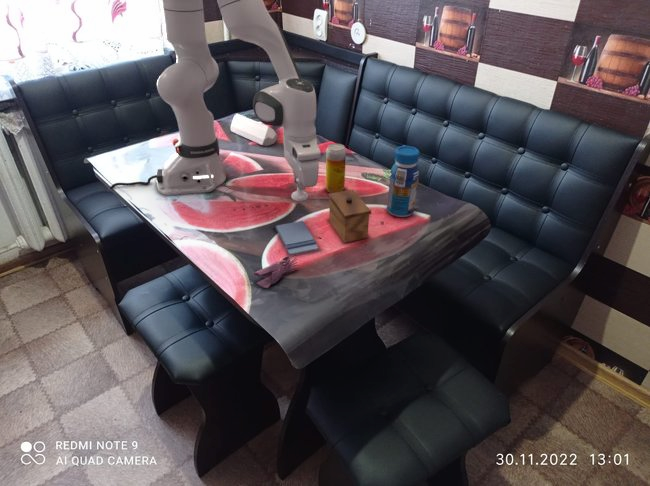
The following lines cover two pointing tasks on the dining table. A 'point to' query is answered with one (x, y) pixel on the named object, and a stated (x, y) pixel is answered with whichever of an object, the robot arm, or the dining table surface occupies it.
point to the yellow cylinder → (335, 167)
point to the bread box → (349, 215)
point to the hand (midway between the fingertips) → (299, 186)
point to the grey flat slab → (296, 238)
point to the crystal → (253, 130)
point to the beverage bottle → (403, 182)
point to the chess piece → (299, 194)
